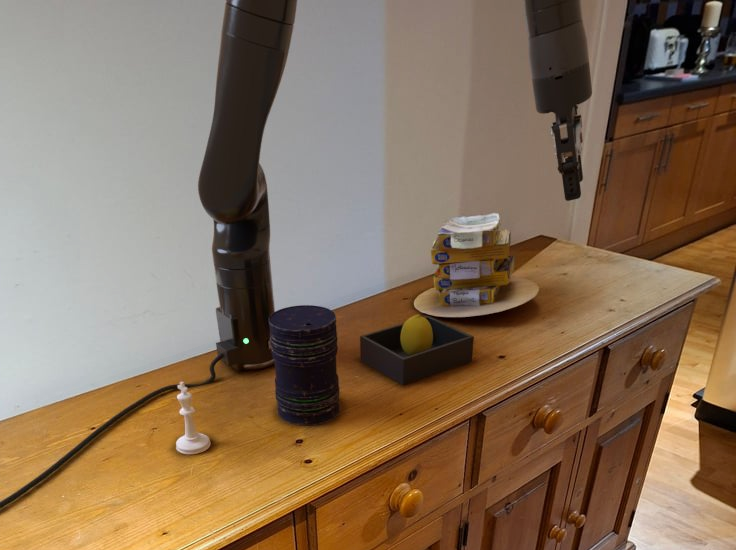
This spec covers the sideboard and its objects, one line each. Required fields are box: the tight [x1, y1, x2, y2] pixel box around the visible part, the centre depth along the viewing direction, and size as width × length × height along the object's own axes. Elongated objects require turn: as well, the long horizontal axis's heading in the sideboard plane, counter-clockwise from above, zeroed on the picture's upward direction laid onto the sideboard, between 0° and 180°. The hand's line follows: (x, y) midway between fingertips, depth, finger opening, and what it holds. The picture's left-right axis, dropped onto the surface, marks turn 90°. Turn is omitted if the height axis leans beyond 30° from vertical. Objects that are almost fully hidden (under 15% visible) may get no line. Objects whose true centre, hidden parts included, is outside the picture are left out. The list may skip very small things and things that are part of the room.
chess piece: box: [175, 381, 211, 455], centre depth 99 cm, size 5×5×10 cm
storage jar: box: [269, 304, 341, 426], centre depth 105 cm, size 10×10×15 cm
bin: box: [359, 315, 475, 386], centre depth 122 cm, size 15×12×4 cm
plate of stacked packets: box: [413, 212, 540, 318], centre depth 139 cm, size 25×25×17 cm
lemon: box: [400, 313, 433, 356], centre depth 120 cm, size 6×6×8 cm
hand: (574, 190), depth 104 cm, fingers open, 8 cm apart
